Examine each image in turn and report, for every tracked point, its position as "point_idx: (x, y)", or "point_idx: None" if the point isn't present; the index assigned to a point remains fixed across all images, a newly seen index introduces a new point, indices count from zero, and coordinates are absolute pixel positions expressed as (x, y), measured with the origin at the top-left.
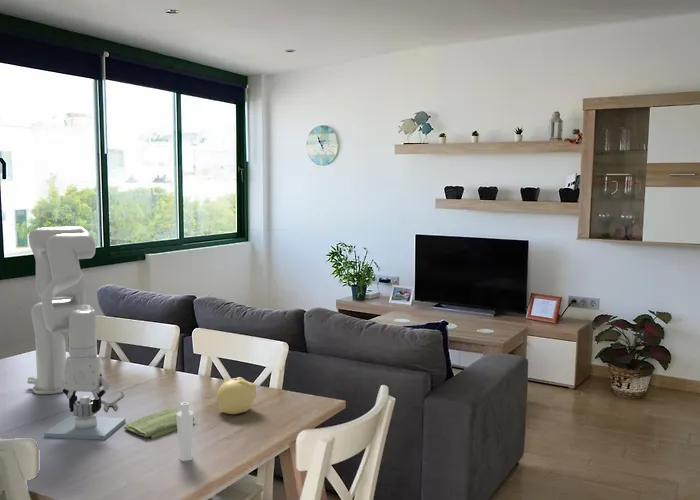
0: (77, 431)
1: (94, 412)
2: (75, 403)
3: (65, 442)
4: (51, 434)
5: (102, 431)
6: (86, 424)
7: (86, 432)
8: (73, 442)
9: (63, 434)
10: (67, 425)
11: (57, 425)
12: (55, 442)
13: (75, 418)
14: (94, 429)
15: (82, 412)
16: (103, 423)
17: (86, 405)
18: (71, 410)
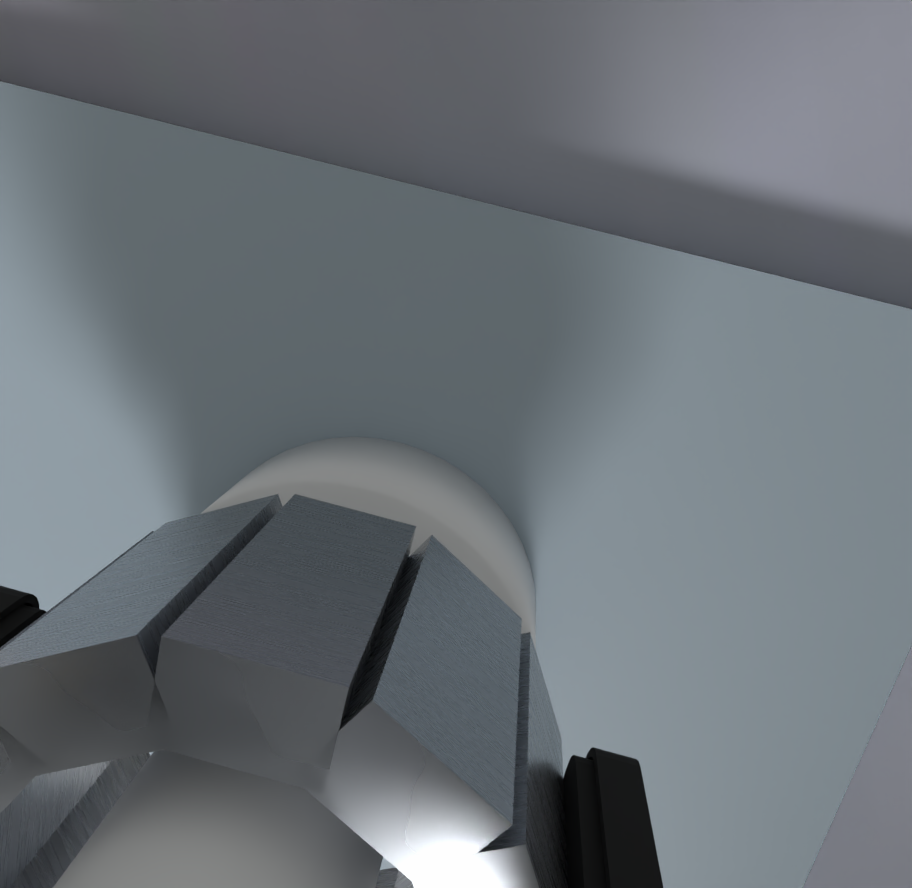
0: (434, 341)
1: (15, 591)
2: (460, 868)
3: (575, 23)
4: (891, 306)
5: (2, 274)
6: (284, 466)
7: (262, 267)
8: (433, 5)
9: (662, 249)
10: (676, 655)
11: (851, 683)
12: (756, 46)
13: None
14: (168, 393)
15: (254, 536)
16: None
17: (39, 647)
18: (606, 768)
